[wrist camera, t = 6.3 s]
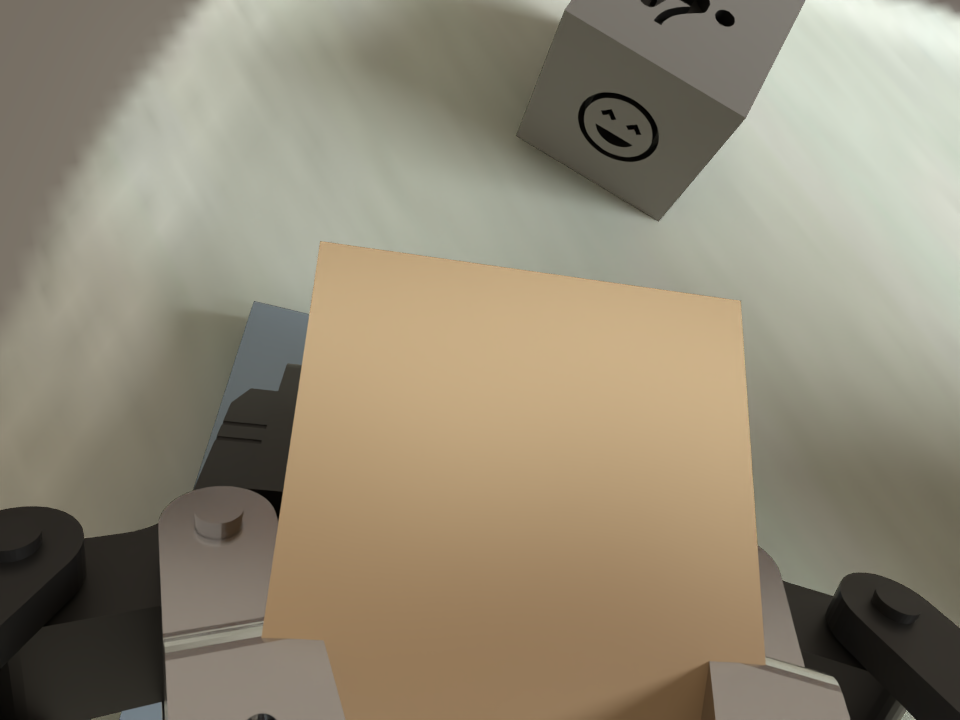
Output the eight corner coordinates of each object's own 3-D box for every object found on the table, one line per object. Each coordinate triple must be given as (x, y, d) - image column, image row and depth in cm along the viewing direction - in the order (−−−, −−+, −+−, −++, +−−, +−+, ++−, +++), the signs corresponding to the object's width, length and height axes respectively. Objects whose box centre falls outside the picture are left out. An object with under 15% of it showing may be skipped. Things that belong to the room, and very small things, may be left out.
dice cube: (585, 33, 24) (647, -108, 19) (716, 111, 24) (810, -11, 19) (515, 137, 22) (564, 10, 17) (657, 222, 22) (745, 117, 17)
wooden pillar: (327, 448, 16) (320, 241, 7) (519, 466, 17) (740, 300, 8) (299, 661, 15) (244, 753, 6) (510, 672, 16) (772, 768, 6)
